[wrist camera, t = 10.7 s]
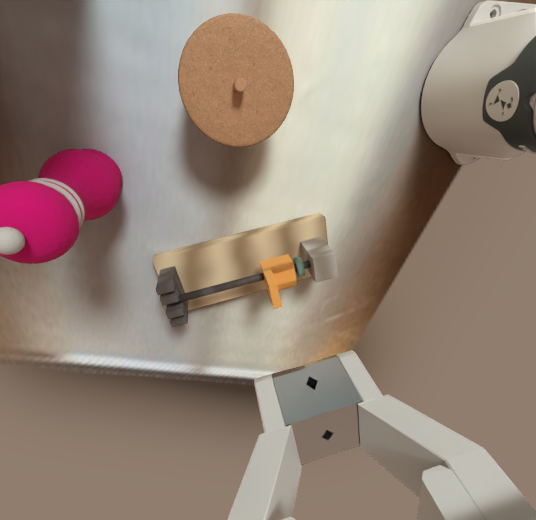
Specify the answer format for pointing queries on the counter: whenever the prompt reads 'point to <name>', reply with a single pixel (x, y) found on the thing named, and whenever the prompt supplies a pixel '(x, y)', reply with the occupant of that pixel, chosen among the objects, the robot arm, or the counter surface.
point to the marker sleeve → (278, 276)
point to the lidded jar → (236, 80)
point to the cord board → (240, 264)
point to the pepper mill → (56, 204)
